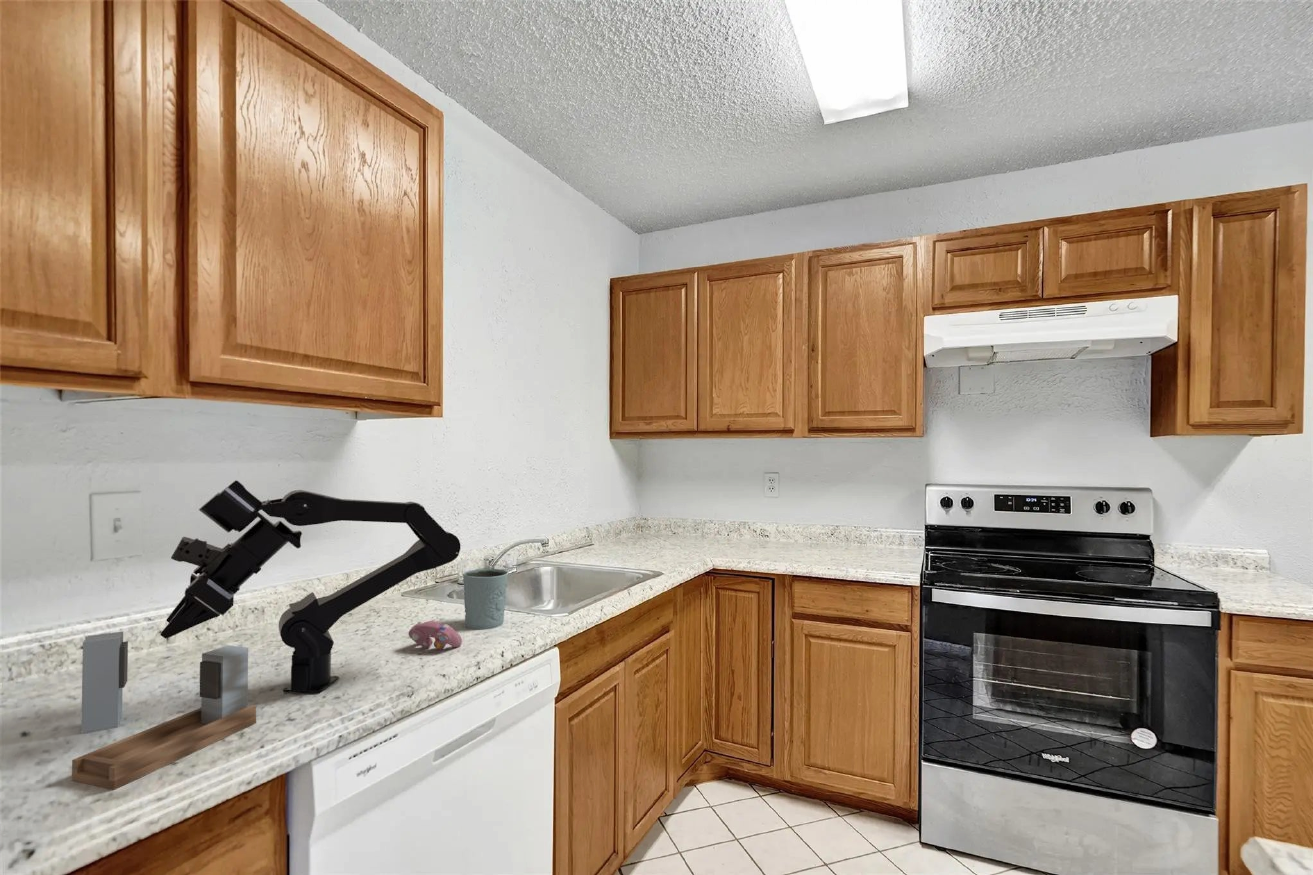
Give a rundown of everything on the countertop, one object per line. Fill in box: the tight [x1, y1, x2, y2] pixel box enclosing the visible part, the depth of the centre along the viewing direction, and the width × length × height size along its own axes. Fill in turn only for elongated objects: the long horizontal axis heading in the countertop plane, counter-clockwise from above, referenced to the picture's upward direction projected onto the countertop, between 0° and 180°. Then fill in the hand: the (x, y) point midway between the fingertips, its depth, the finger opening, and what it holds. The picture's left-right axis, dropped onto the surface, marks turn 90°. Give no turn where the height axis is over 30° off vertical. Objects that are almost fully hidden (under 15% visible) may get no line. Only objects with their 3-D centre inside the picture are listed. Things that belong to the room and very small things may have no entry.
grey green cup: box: [462, 568, 509, 630], centre depth 146 cm, size 10×10×12 cm
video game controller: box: [408, 620, 463, 651], centre depth 128 cm, size 10×5×7 cm, turn 76°
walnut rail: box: [71, 645, 257, 791], centre depth 85 cm, size 19×7×11 cm, turn 164°
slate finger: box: [80, 631, 129, 734], centre depth 93 cm, size 5×4×13 cm
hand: (165, 629), depth 97 cm, fingers open, 9 cm apart
